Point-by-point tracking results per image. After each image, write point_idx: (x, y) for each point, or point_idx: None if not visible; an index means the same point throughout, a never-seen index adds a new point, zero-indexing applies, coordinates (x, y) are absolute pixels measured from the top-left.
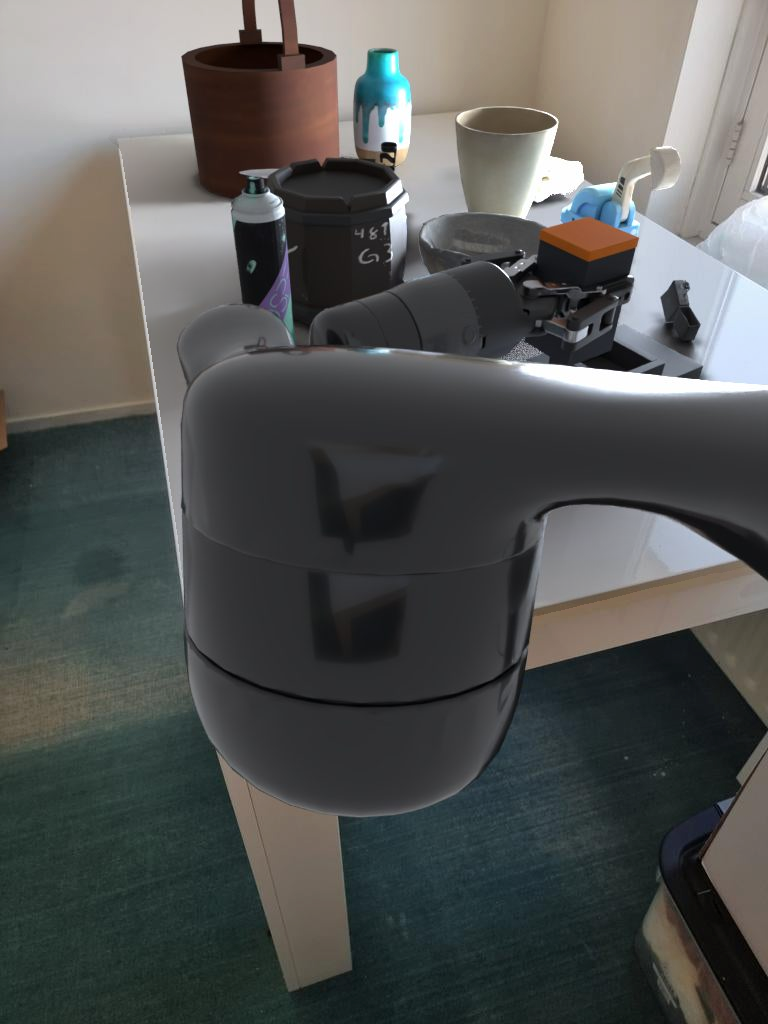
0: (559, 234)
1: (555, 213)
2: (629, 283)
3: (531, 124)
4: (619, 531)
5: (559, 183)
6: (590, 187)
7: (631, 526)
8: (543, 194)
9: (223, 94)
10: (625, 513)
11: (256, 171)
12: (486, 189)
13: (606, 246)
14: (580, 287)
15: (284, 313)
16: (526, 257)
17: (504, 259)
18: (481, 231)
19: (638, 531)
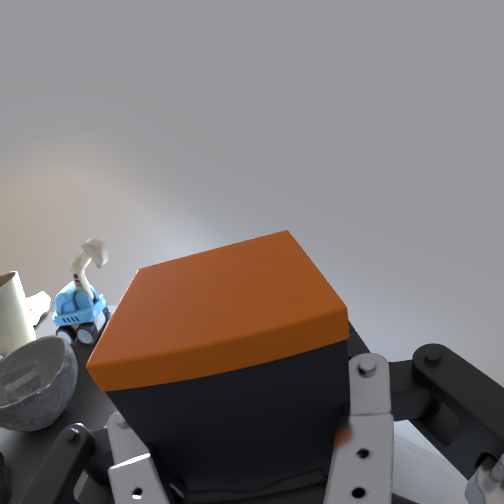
0: (155, 340)
1: (49, 324)
2: None
3: (4, 284)
4: (456, 494)
5: (39, 307)
6: (59, 293)
7: (451, 482)
8: (36, 318)
9: None
10: (432, 483)
11: None
12: (2, 337)
13: (313, 270)
14: (353, 408)
15: None
16: (95, 429)
17: (67, 484)
18: (16, 367)
19: (459, 477)
